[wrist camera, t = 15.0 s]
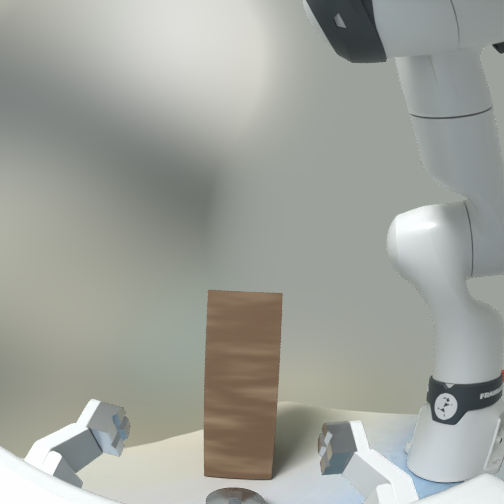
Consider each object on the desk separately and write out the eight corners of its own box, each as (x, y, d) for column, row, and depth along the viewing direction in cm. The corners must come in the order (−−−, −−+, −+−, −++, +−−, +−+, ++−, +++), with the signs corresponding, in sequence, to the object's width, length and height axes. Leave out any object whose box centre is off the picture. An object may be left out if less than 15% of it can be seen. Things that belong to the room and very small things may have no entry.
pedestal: (215, 437, 44) (220, 295, 49) (266, 440, 44) (273, 298, 49) (204, 475, 30) (208, 289, 35) (271, 479, 30) (282, 293, 35)
